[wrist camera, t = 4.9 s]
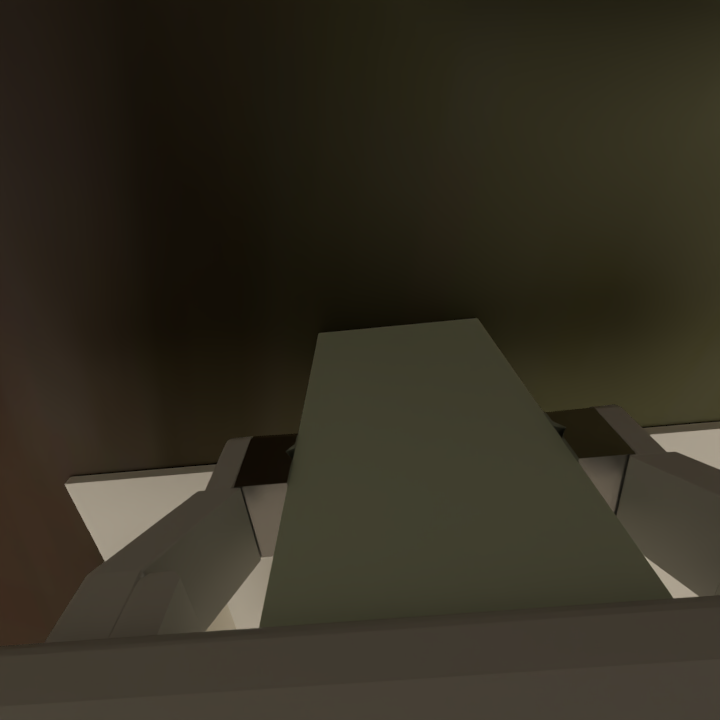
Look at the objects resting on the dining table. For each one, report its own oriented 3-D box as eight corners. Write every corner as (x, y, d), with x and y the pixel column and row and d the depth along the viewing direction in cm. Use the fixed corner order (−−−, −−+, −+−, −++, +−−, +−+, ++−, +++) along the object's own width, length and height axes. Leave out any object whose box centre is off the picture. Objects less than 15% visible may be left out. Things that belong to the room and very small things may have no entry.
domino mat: (177, 686, 22) (174, 694, 22) (70, 476, 16) (64, 484, 16) (756, 647, 21) (763, 656, 21) (878, 407, 15) (891, 414, 15)
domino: (476, 363, 14) (679, 734, 5) (325, 377, 14) (274, 757, 5) (477, 317, 14) (715, 657, 5) (318, 333, 14) (247, 685, 5)
